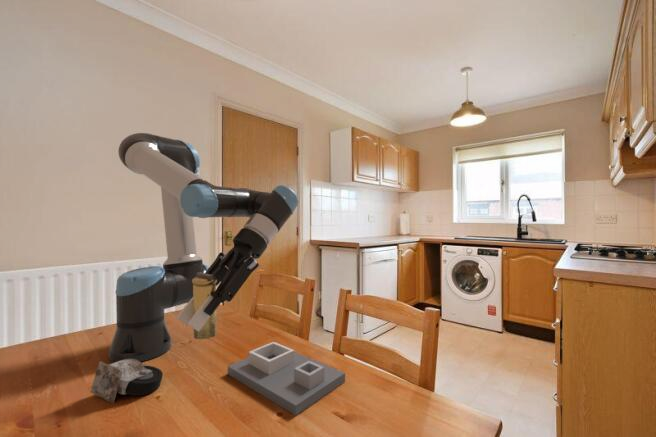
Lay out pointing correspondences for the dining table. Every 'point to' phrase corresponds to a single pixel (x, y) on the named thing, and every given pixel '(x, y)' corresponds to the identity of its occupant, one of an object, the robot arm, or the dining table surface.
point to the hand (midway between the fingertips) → (187, 324)
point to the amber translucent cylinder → (201, 291)
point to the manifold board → (286, 376)
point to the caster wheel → (125, 379)
